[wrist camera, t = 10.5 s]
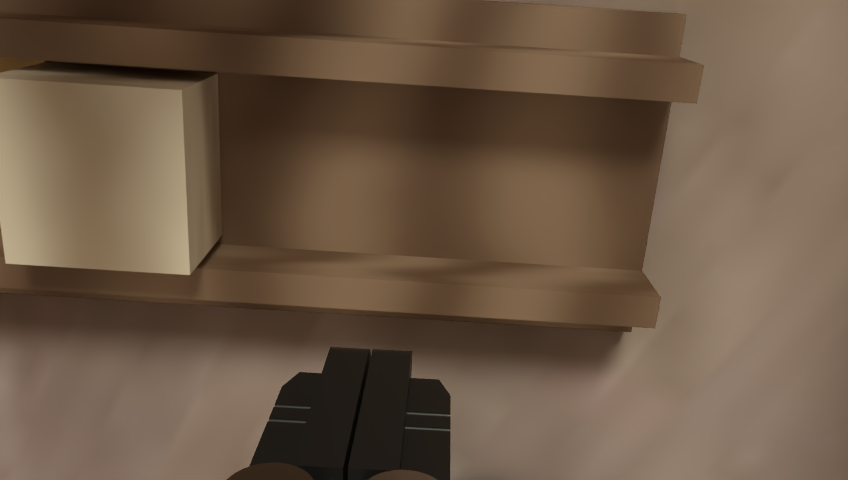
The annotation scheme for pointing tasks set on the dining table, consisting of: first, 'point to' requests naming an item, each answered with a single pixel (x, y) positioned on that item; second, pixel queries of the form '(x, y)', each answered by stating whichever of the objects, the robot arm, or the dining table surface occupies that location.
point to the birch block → (109, 167)
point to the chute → (400, 152)
